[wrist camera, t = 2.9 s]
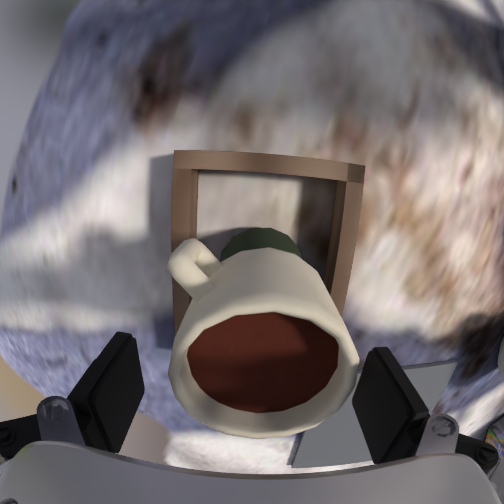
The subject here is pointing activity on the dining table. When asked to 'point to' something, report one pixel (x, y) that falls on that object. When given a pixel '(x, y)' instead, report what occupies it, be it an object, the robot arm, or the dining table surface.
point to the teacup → (501, 358)
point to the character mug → (258, 339)
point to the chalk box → (497, 436)
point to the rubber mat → (348, 428)
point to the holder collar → (344, 173)
